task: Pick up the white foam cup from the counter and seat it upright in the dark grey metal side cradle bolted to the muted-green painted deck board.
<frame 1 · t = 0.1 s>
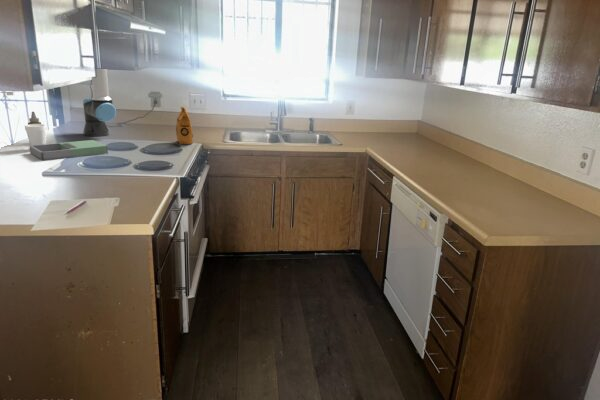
hand: (6, 94, 227), 28 cm above the countertop, fingers open, 13 cm apart
deck: (83, 151, 231), on the countertop
squeeze bottle: (37, 144, 244), on the countertop
coffee package: (184, 142, 269), on the countertop
foam cup: (38, 149, 230), on the countertop
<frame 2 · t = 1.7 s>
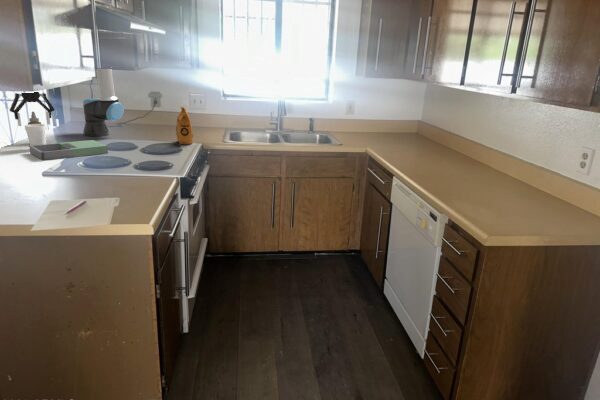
hand: (34, 125, 226), 13 cm above the countertop, fingers open, 13 cm apart
nothing on the countertop moved.
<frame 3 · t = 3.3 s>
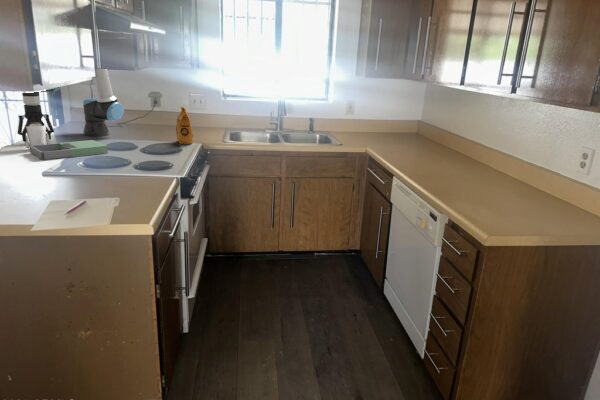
hand: (38, 146, 230), 2 cm above the countertop, fingers closed on foam cup, 9 cm apart
foam cup: (38, 149, 230), on the countertop, touching gripper
everything else where it was.
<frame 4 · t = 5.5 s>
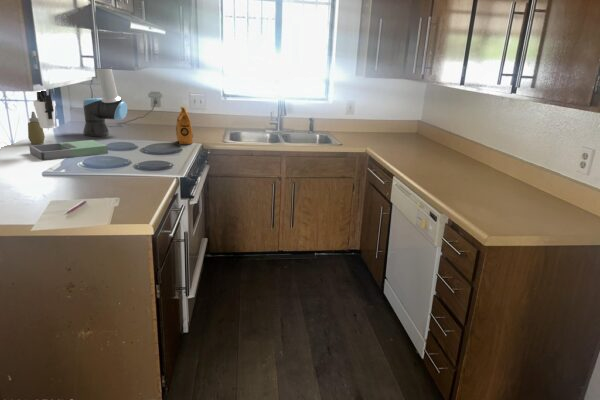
hand: (47, 124, 216), 16 cm above the countertop, fingers closed on foam cup, 9 cm apart
foam cup: (47, 127, 216), point 14 cm above the countertop, touching gripper
everything else where it was.
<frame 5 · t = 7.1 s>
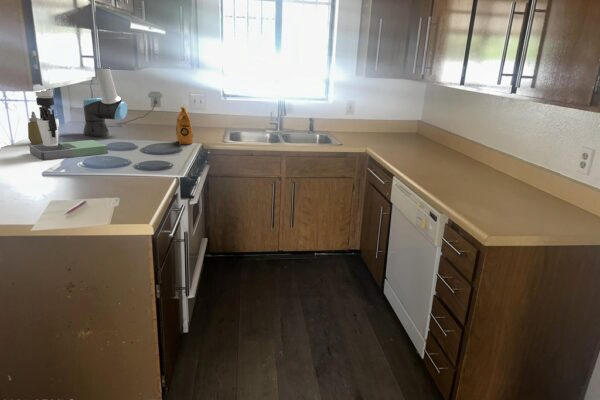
hand: (50, 141, 218), 7 cm above the countertop, fingers closed on foam cup, 9 cm apart
foam cup: (50, 145, 219), point 5 cm above the countertop, touching gripper
everything else where it was.
when the fingers open (4 cm above the countertop, at t = 8.2 s): foam cup drops 2 cm, resting on deck.
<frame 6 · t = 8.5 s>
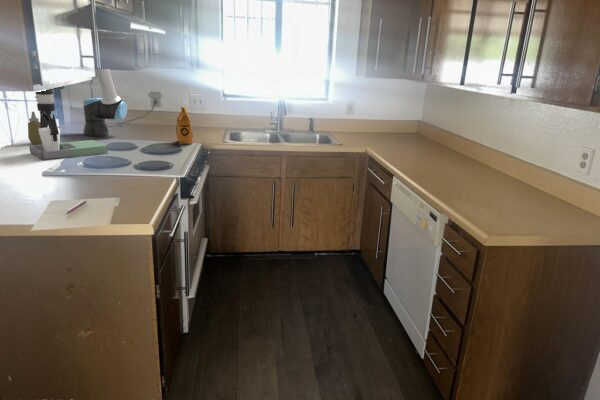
hand: (51, 145, 219), 5 cm above the countertop, fingers open, 13 cm apart
foam cup: (52, 154, 220), resting on deck
everything else where it was.
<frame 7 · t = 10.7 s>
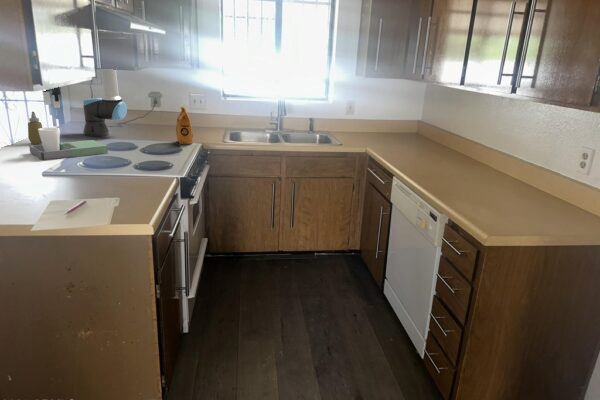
hand: (52, 106, 221), 24 cm above the countertop, fingers open, 13 cm apart
nothing on the countertop moved.
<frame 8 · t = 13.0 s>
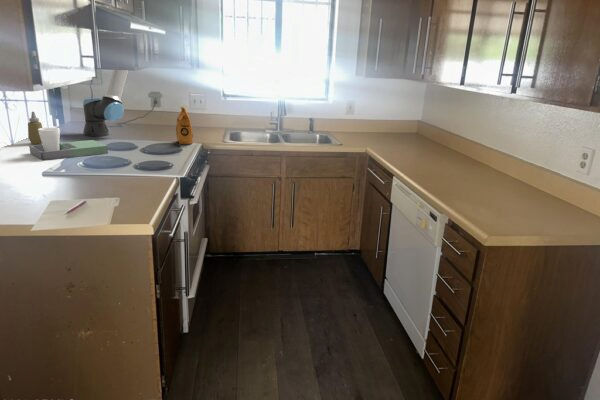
hand: (60, 87, 237), 32 cm above the countertop, fingers open, 13 cm apart
nothing on the countertop moved.
at the end: foam cup inside the target area on the deck (0.0 cm from its centre), point 0.3 cm above the deck's base; foam cup tilted 0°; the gripper is holding nothing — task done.
